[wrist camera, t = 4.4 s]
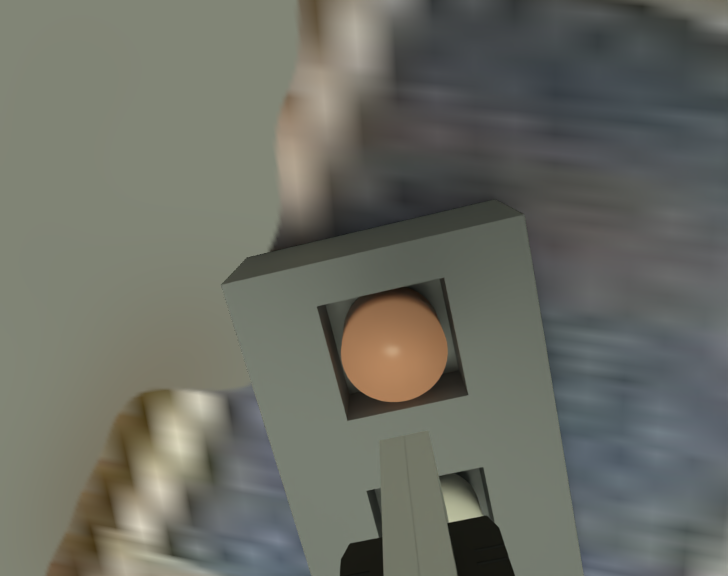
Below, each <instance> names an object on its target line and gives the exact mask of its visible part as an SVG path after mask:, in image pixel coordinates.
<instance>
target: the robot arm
mask: <svg viewBox="0 0 728 576" xmlns="http://www.w3.org/2000/svg"><path fill="white" fill-rule="evenodd" d="M379 444H380V476H381V508H382V537H380V538H375V539H370V540H365V541H360V542H355V543H350V544H349V545H348V547H347V549H346V551H345V553H344V555H343V556H342V558H341V563H340V576H515V574H514V571H513V568H512V565H511V562H510V559H509V556H508V553H507V550H506V547H505V544H504V541H503V538H502V535H501V531H500V528H499V527H498V526H497V525H496V524H495V523H494V522H493V521H492V520H491V519H490V518H489V517H488V516H487V515H486V516H480V517H475V518H470V519H465V520H460V521H455V522H450V523H449V520H448V515H447V510H446V505H445V501H444V497H443V492H442V488H441V484H440V479H439V475H438V471H437V466H436V462H435V458H434V453H433V449H432V445H431V440H430V436H429V431H423V432H418V433H413V434H408V435H404V436H399V437H394V438H389V439H384V440H379Z"/></svg>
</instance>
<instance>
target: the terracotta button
mask: <svg viewBox="0 0 728 576" xmlns="http://www.w3.org/2000/svg"><path fill="white" fill-rule="evenodd" d="M447 356H448V347H447V341H446V337H445V334H444V332H443V329H442V327H441V324H440V321H439V319H438V316H437V314H436V312H435V310H434V308H433V306H432V305H431V304H430V302H429V301H428V300H427V299H426V298H425V297H424V296H422V295H421V294H419V293H418V292H416V291H414V290H412V289H410V288H407V287H400V288H396V289H391V290H387V291H383V292H378V293H374V294H369V295H365V296H361V297H359V298H358V299H357V300H356V301H355V302H354V303H353V305H352V306H351V308H350V309H349V311H348V313H347V316H346V318H345V322H344V328H343V337H342V346H341V360H342V365H343V368H344V371H345V373H346V375H347V377H348V378H349V380H350V381H351V382H352V384H353V385H354V386H355V387H356V388H357V389H359V390H360V391H361V392H362V393H364V394H366V395H367V396H369V397H371V398H374V399H377V400H380V401H385V402H402V401H407V400H411V399H414V398H416V397H418V396H420V395H422V394H424V393H425V392H427V391H428V390H429V389H431V388H432V387H433V386H434V385H435V384H436V382H437V381H438V380H439V378H440V377H441V375H442V373H443V371H444V369H445V366H446V362H447Z"/></svg>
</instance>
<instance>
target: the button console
mask: <svg viewBox="0 0 728 576" xmlns="http://www.w3.org/2000/svg"><path fill="white" fill-rule="evenodd" d="M221 287H222V290H223V293H224V296H225V300H226V303H227V306H228V309H229V312H230V316H231V319H232V322H233V326H234V329H235V331H236V335H237V338H238V341H239V345H240V348H241V351H242V354H243V358H244V361H245V364H246V367H247V370H248V373H249V377H250V380H251V383H252V386H253V390H254V393H255V396H256V399H257V402H258V406H259V409H260V412H261V415H262V419H263V422H264V425H265V428H266V431H267V435H268V438H269V441H270V444H271V447H272V451H273V454H274V457H275V460H276V463H277V467H278V470H279V473H280V476H281V479H282V483H283V486H284V489H285V492H286V495H287V499H288V502H289V505H290V508H291V512H292V515H293V518H294V521H295V524H296V528H297V531H298V534H299V537H300V540H301V544H302V547H303V550H304V553H305V556H306V560H307V563H308V566H309V569H310V572H311V576H340V563H341V558H342V556H343V555H344V553H345V551H346V549H347V547H348V545H349V544H350V543H355V542H360V541H365V540H370V539H375V538H380V537H382V508H381V476H380V444H379V440H384V439H389V438H394V437H399V436H404V435H408V434H413V433H418V432H423V431H429V436H430V440H431V445H432V449H433V453H434V458H435V462H436V466H437V471H438V475H439V476H441V475H446V474H451V473H455V474H457V475H459V476H460V477H462V478H463V479H465V480H466V481H467V482H468V483H469V484H470V485H471V486H472V488H473V489H474V491H475V493H476V495H477V497H478V501H479V504H480V507H481V510H482V514H483V516H486V515H487V516H488V517H489V518H490V519H491V520H492V521H493V522H494V523H495V524H496V525H497V526H498V527H499V528H500V531H501V535H502V538H503V541H504V544H505V547H506V550H507V553H508V556H509V559H510V562H511V565H512V568H513V571H514V574H515V576H584V574H583V568H582V562H581V556H580V550H579V544H578V538H577V532H576V526H575V519H574V513H573V507H572V501H571V495H570V489H569V483H568V477H567V471H566V465H565V459H564V453H563V447H562V440H561V434H560V428H559V422H558V416H557V410H556V404H555V398H554V392H553V386H552V380H551V374H550V367H549V361H548V355H547V349H546V343H545V337H544V331H543V325H542V319H541V313H540V307H539V301H538V295H537V288H536V282H535V276H534V270H533V264H532V258H531V252H530V246H529V240H528V234H527V228H526V222H525V216H524V214H522V213H520V212H518V211H516V210H514V209H513V208H511V207H509V206H507V205H505V204H503V203H501V202H499V201H497V200H491V201H486V202H482V203H478V204H473V205H469V206H465V207H461V208H456V209H452V210H448V211H444V212H439V213H435V214H431V215H427V216H422V217H418V218H414V219H409V220H405V221H401V222H397V223H392V224H388V225H384V226H380V227H375V228H371V229H367V230H363V231H358V232H354V233H350V234H345V235H341V236H337V237H333V238H328V239H324V240H320V241H316V242H311V243H307V244H303V245H299V246H294V247H290V248H286V249H281V250H277V251H273V252H269V253H264V254H260V255H256V256H252V257H247V258H246V259H245V260H244V261H243V262H242V263H241V264H240V266H239V267H238V268H237V269H236V270H235V271H234V272H233V273H232V274H231V275H230V276H229V277H228V278H227V279H226V280H225V281H224V282H223V283H222V284H221ZM400 287H407V288H410V289H412V290H414V291H416V292H418V293H419V294H421V295H422V296H424V297H425V298H426V299H427V300H428V301H429V302H430V304H431V305H432V306H433V308H434V310H435V312H436V314H437V316H438V319H439V321H440V324H441V327H442V329H443V332H444V334H445V337H446V341H447V347H448V356H447V362H446V366H445V369H444V371H443V373H442V375H441V377H440V378H439V380H438V381H437V382H436V384H435V385H434V386H433V387H432V388H431V389H429V390H428V391H427V392H425V393H424V394H422V395H420V396H418V397H416V398H414V399H411V400H407V401H402V402H385V401H380V400H377V399H374V398H371V397H369V396H367V395H366V394H364V393H362V392H361V391H360V390H359V389H357V388H356V387H355V386H354V385H353V384H352V382H351V381H350V380H349V378H348V377H347V375H346V373H345V371H344V368H343V365H342V360H341V346H342V337H343V328H344V322H345V318H346V316H347V313H348V311H349V309H350V308H351V306H352V305H353V303H354V302H355V301H356V300H357V299H358V298H359V297H361V296H365V295H369V294H374V293H378V292H383V291H387V290H391V289H396V288H400Z"/></svg>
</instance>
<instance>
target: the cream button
mask: <svg viewBox="0 0 728 576" xmlns="http://www.w3.org/2000/svg"><path fill="white" fill-rule="evenodd" d="M439 479H440V484H441V488H442V492H443V497H444V501H445V505H446V510H447V515H448V520H449V523H450V522H455V521H460V520H465V519H470V518H475V517H480V516H483V514H482V510H481V507H480V504H479V501H478V497H477V495H476V493H475V491H474V489H473V488H472V486H471V485H470V484H469V483H468V482H467V481H466V480H465V479H463V478H462V477H460V476H459V475H457V474H455V473H451V474H446V475H441V476H439Z"/></svg>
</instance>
